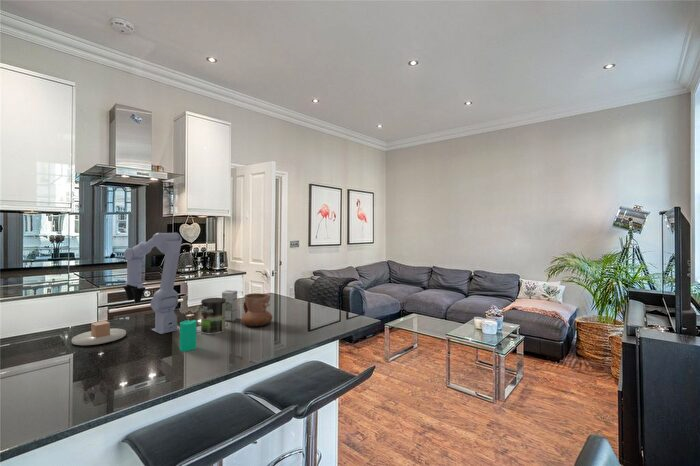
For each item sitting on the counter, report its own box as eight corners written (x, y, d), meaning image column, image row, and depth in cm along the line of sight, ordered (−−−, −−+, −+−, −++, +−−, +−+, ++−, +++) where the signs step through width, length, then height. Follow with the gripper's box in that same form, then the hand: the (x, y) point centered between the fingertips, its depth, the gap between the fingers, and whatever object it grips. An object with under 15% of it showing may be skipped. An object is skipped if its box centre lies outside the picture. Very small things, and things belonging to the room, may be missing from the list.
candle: (200, 347, 131) (200, 316, 131) (188, 352, 125) (188, 320, 125) (188, 344, 133) (188, 315, 132) (175, 350, 127) (176, 319, 127)
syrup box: (237, 318, 171) (237, 290, 171) (232, 321, 165) (232, 292, 165) (226, 317, 172) (227, 289, 171) (221, 321, 166) (221, 292, 166)
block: (109, 334, 138) (110, 322, 138) (95, 338, 134) (95, 325, 134) (105, 332, 141) (105, 320, 141) (91, 335, 137) (91, 323, 137)
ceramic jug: (280, 324, 162) (280, 295, 162) (255, 331, 151) (255, 299, 151) (257, 318, 173) (257, 290, 173) (232, 324, 162) (232, 294, 162)
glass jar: (213, 336, 144) (213, 303, 144) (195, 332, 148) (195, 301, 147) (230, 329, 153) (230, 298, 153) (213, 326, 157) (213, 296, 157)
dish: (133, 337, 140) (133, 334, 140) (80, 350, 125) (80, 346, 125) (116, 329, 150) (116, 325, 150) (65, 339, 136) (65, 336, 136)
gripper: (118, 272, 161) (118, 300, 161) (131, 275, 152) (131, 305, 153) (134, 270, 167) (134, 297, 167) (147, 273, 158) (147, 302, 158)
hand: (134, 301), depth 160 cm, fingers open, 7 cm apart
